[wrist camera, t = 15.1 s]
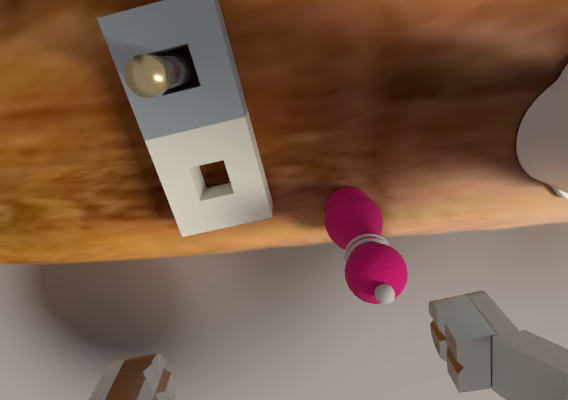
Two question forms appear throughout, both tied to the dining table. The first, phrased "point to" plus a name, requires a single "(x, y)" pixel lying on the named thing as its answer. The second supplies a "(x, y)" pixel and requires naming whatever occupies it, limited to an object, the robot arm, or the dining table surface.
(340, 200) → the pepper mill
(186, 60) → the lock pin
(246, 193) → the pin board
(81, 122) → the dining table surface
